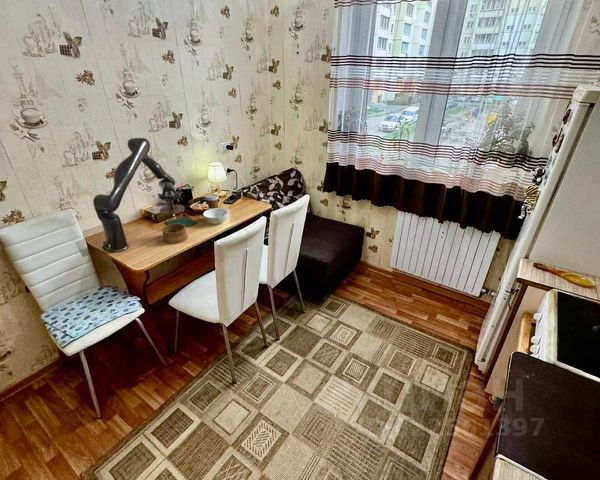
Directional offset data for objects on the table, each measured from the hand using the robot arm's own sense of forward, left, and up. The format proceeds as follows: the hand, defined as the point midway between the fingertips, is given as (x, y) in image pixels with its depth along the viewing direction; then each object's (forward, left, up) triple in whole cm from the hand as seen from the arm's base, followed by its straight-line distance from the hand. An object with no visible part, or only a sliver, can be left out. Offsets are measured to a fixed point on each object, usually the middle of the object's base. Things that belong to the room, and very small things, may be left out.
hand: (170, 199), depth 183 cm
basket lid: (+1, +3, -8) cm, 8 cm away
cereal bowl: (+30, +4, -25) cm, 39 cm away
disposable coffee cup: (+38, +23, -25) cm, 51 cm away
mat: (+10, +18, -25) cm, 32 cm away
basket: (-2, -2, -25) cm, 25 cm away
